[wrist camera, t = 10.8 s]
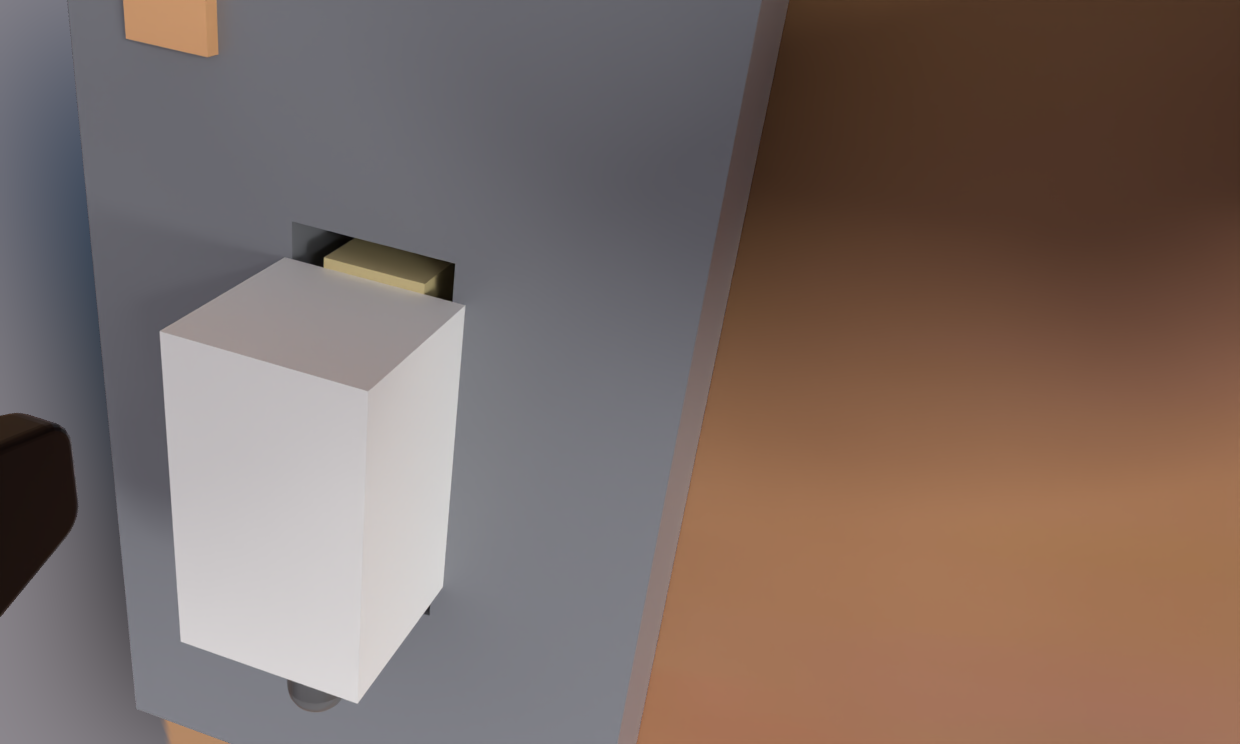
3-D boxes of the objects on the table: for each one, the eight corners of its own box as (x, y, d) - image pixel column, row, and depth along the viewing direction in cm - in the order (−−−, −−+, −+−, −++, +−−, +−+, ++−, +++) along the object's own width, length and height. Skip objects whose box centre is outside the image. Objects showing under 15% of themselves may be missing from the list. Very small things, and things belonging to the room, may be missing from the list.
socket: (803, -71, 18) (768, -53, 15) (629, 778, 27) (587, 887, 24) (168, -185, 20) (35, -190, 17) (211, 633, 30) (128, 716, 27)
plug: (518, 249, 21) (368, 379, 16) (482, 603, 26) (354, 797, 20) (353, 207, 22) (158, 319, 17) (344, 559, 26) (187, 735, 21)
